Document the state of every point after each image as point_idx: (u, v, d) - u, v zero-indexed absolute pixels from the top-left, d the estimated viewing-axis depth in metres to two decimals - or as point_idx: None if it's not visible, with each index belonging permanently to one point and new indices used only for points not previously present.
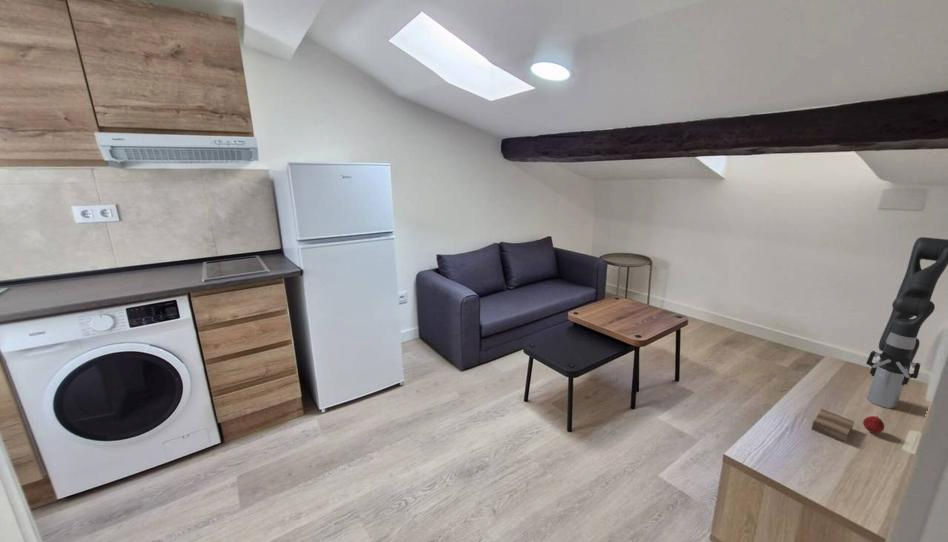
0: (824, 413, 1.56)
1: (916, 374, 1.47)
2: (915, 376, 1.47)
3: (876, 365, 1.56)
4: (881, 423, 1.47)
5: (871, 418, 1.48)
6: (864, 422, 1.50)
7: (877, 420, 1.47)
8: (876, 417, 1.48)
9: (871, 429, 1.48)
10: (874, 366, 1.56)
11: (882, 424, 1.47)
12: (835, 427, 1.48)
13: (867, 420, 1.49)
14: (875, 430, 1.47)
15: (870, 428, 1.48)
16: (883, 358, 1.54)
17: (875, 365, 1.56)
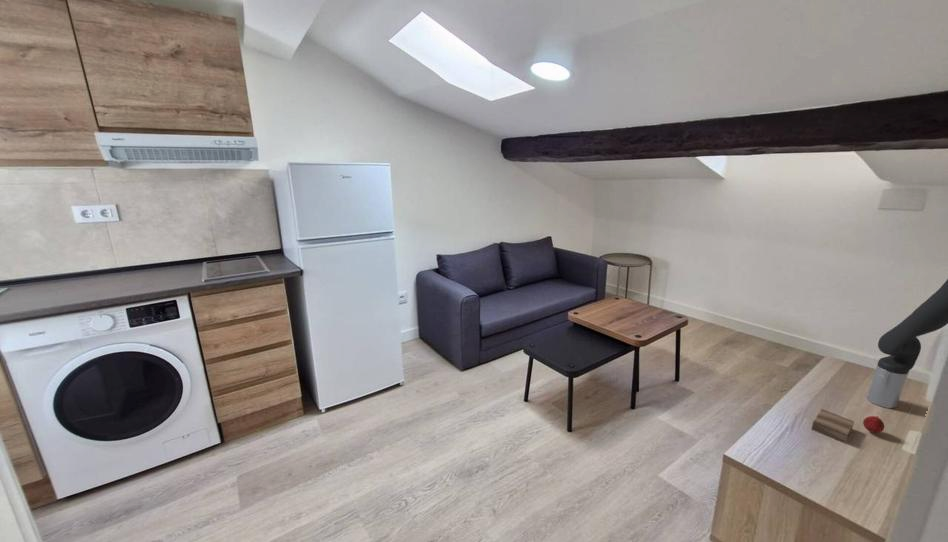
0: (824, 413, 1.56)
1: None
2: None
3: None
4: (881, 423, 1.47)
5: (871, 418, 1.48)
6: (864, 422, 1.50)
7: (877, 420, 1.47)
8: (876, 417, 1.48)
9: (871, 429, 1.48)
10: None
11: (882, 424, 1.47)
12: (835, 427, 1.48)
13: (867, 420, 1.49)
14: (874, 430, 1.47)
15: (870, 428, 1.48)
16: None
17: None
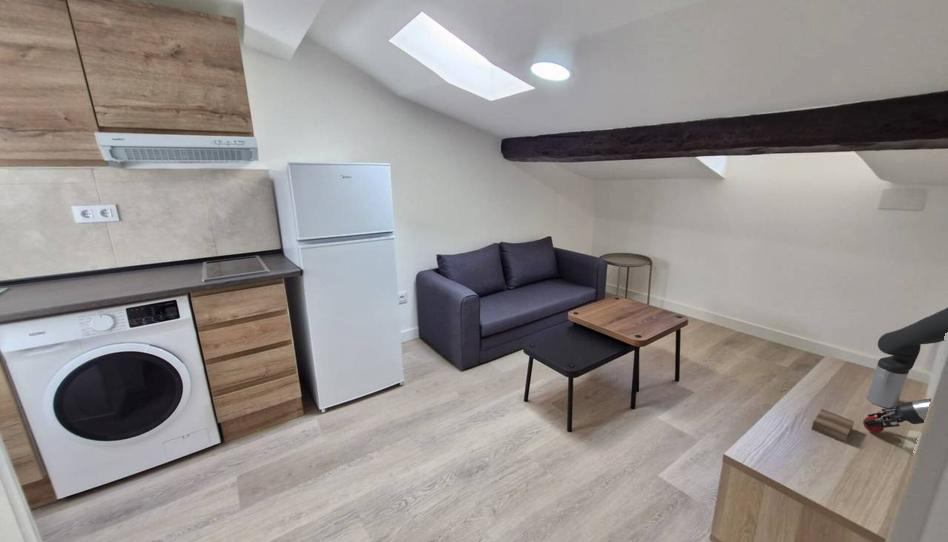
0: (824, 413, 1.56)
1: None
2: None
3: None
4: None
5: (871, 418, 1.48)
6: None
7: None
8: (876, 417, 1.48)
9: (871, 429, 1.48)
10: None
11: None
12: (835, 427, 1.48)
13: (867, 420, 1.49)
14: (874, 430, 1.47)
15: (870, 428, 1.48)
16: None
17: None
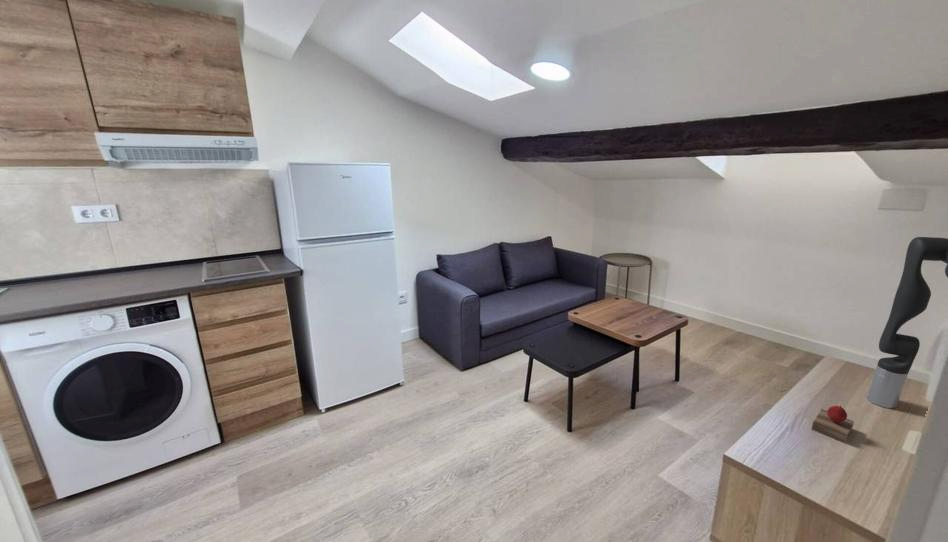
0: (824, 413, 1.56)
1: None
2: None
3: None
4: (844, 412, 1.47)
5: (834, 407, 1.49)
6: (828, 412, 1.51)
7: (840, 409, 1.48)
8: (839, 406, 1.49)
9: (834, 418, 1.49)
10: None
11: (845, 413, 1.47)
12: (835, 427, 1.48)
13: (831, 410, 1.50)
14: (837, 420, 1.48)
15: (833, 417, 1.49)
16: None
17: None
